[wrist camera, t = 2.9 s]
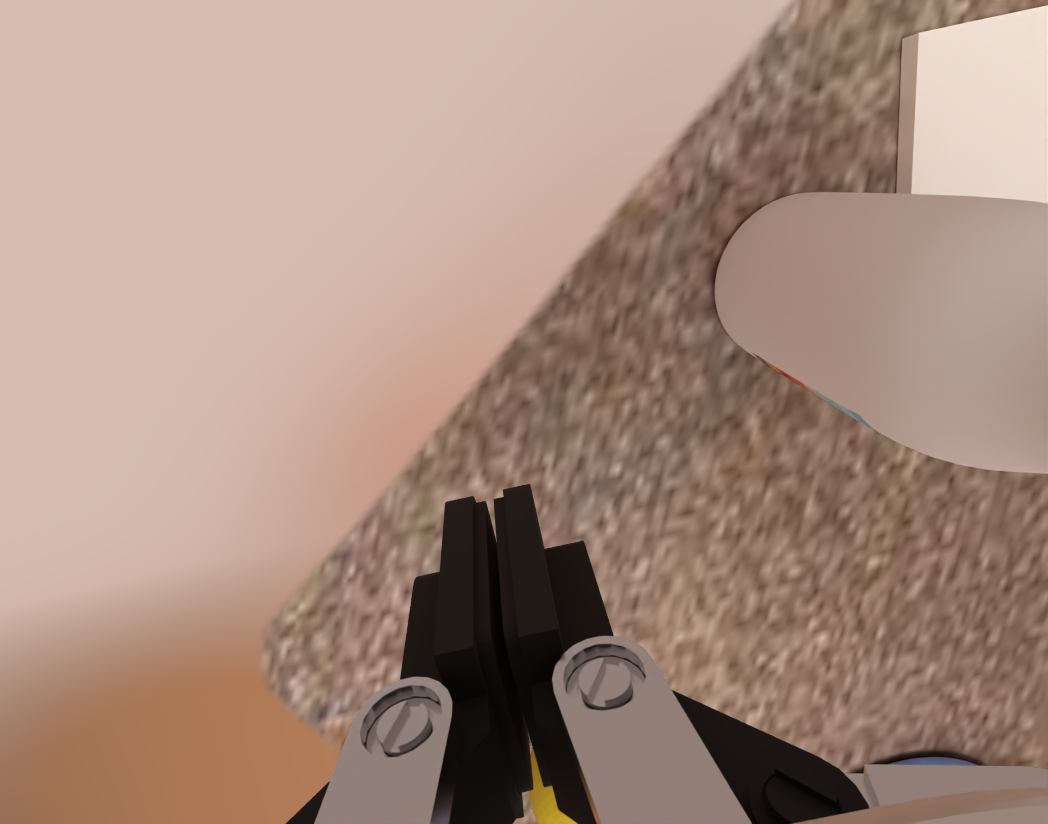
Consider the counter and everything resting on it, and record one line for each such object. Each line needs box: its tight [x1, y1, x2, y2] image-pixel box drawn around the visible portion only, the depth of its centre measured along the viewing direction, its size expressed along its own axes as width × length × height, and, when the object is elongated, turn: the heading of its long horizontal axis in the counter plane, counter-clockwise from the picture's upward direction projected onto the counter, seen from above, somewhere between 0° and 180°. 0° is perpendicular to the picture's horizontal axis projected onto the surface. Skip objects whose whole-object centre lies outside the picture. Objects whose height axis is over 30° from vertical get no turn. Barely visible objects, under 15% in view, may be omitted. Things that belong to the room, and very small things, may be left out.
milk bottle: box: [715, 192, 1048, 474], centre depth 18 cm, size 8×8×20 cm
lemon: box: [529, 748, 578, 824], centre depth 33 cm, size 6×6×8 cm
